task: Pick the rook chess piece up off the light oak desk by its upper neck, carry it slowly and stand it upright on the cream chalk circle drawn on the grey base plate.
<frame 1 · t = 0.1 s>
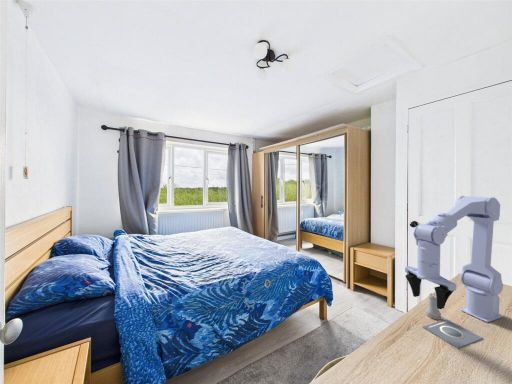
hand: (427, 301, 72), 10 cm above the table, fingers open, 7 cm apart
rook chess piece: (433, 316, 80), on the table
grey base plate: (451, 332, 71), on the table
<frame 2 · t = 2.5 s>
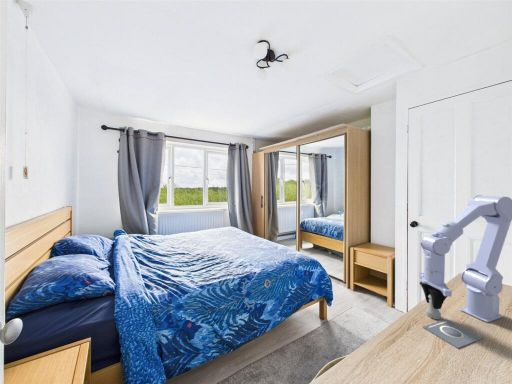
hand: (433, 305, 80), 4 cm above the table, fingers closed on rook chess piece, 3 cm apart
rook chess piece: (433, 316, 80), on the table, touching gripper
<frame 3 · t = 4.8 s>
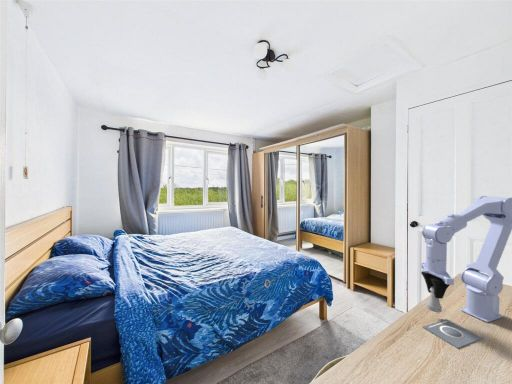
hand: (435, 295, 79), 8 cm above the table, fingers closed on rook chess piece, 3 cm apart
rook chess piece: (433, 309, 79), point 3 cm above the table, touching gripper
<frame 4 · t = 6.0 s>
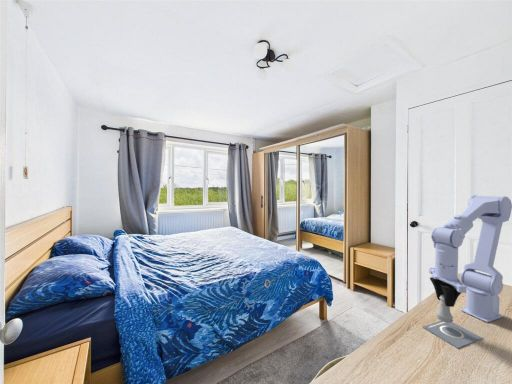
hand: (445, 302, 74), 8 cm above the table, fingers closed on rook chess piece, 3 cm apart
rook chess piece: (444, 319, 74), point 2 cm above the table, touching gripper
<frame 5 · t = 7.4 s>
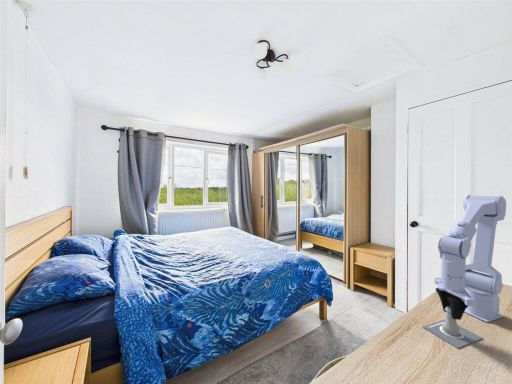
hand: (451, 315, 71), 6 cm above the table, fingers closed on rook chess piece, 3 cm apart
rook chess piece: (450, 332, 71), resting on grey base plate, touching gripper
when the fingers open (5 cm above the table, at t = 8.3 s): rook chess piece stays where it is, resting on grey base plate.
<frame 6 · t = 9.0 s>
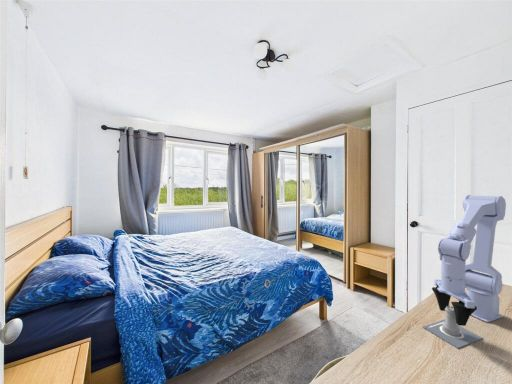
hand: (451, 317, 71), 5 cm above the table, fingers open, 7 cm apart
rook chess piece: (450, 332, 71), resting on grey base plate
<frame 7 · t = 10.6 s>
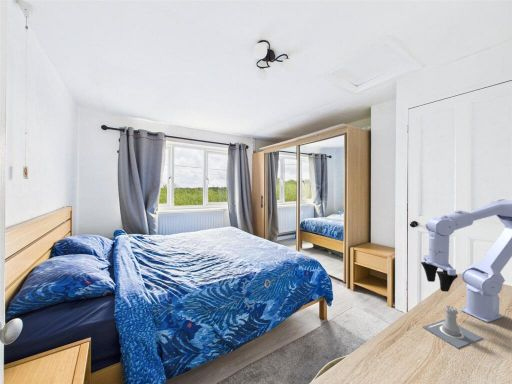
hand: (437, 285, 82), 10 cm above the table, fingers open, 7 cm apart
nothing on the table moved.
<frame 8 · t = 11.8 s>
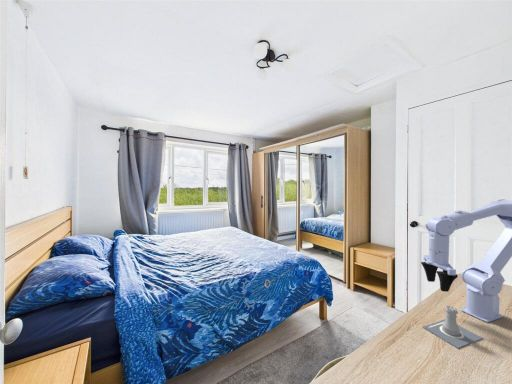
hand: (437, 285, 82), 10 cm above the table, fingers open, 7 cm apart
nothing on the table moved.
at the end: rook chess piece 0.2 cm off-centre on the grey base plate, point 0.2 cm above the grey base plate's base; rook chess piece tilted 0°; the gripper is holding nothing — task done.
